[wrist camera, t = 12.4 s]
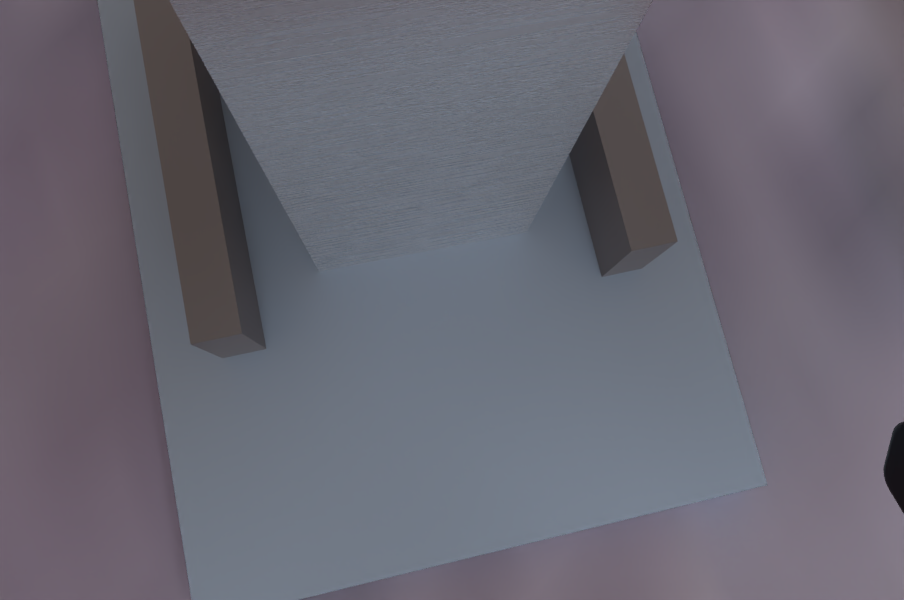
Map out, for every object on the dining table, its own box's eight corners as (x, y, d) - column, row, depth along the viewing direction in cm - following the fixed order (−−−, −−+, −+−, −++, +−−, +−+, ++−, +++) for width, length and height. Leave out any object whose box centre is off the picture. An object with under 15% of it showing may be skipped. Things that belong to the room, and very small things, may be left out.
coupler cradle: (748, 482, 18) (826, 492, 15) (208, 614, 17) (155, 658, 14) (583, -96, 21) (616, -202, 17) (106, -17, 20) (42, -113, 16)
